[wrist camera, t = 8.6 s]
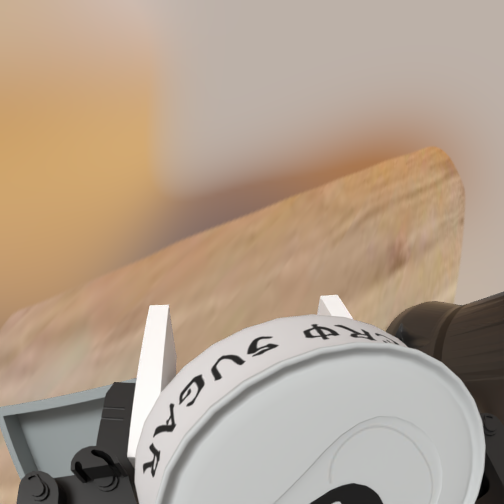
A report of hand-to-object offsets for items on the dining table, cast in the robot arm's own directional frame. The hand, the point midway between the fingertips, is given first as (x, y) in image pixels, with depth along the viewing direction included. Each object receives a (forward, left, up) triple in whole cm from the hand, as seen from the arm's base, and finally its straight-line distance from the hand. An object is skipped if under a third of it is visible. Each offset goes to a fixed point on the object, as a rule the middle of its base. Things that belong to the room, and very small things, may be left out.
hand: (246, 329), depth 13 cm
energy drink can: (+1, +3, -6) cm, 7 cm away
